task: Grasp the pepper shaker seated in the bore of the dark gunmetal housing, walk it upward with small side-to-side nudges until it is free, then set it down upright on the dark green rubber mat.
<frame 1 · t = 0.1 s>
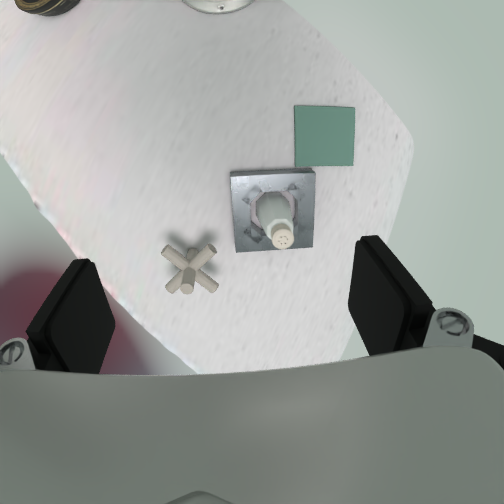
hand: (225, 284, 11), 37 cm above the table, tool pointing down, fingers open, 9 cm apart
pipe connector: (193, 252, 52), on the table
mat: (324, 135, 44), on the table
pepper shaker: (272, 206, 49), resting in housing
housing: (272, 207, 49), on the table
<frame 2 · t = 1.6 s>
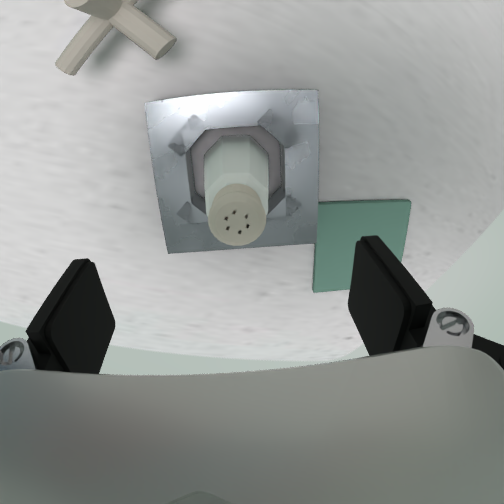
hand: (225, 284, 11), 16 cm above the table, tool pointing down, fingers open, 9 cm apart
pipe connector: (135, 22, 18), on the table
mat: (360, 245, 29), on the table
pepper shaker: (236, 165, 25), resting in housing
housing: (236, 166, 25), on the table
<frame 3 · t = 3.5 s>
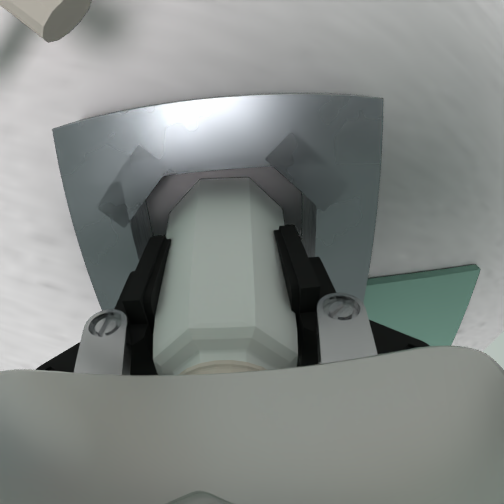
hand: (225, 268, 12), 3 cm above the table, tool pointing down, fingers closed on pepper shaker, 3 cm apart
mat: (406, 328, 19), on the table
pepper shaker: (226, 228, 15), resting in housing, touching gripper
housing: (226, 229, 15), on the table
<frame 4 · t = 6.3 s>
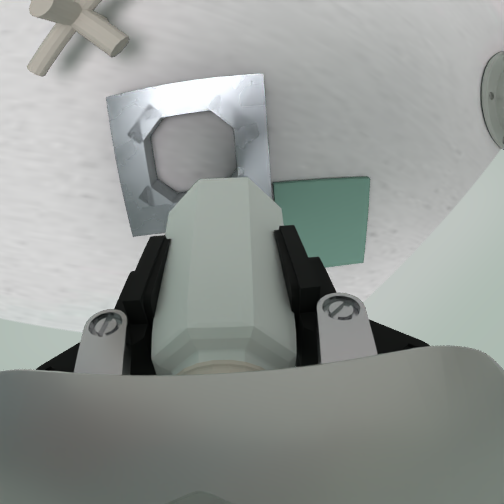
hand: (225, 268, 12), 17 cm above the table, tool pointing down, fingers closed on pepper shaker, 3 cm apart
pipe connector: (99, 26, 19), on the table
mat: (321, 224, 30), on the table
pepper shaker: (225, 227, 15), point 13 cm above the table, touching gripper
housing: (193, 151, 26), on the table
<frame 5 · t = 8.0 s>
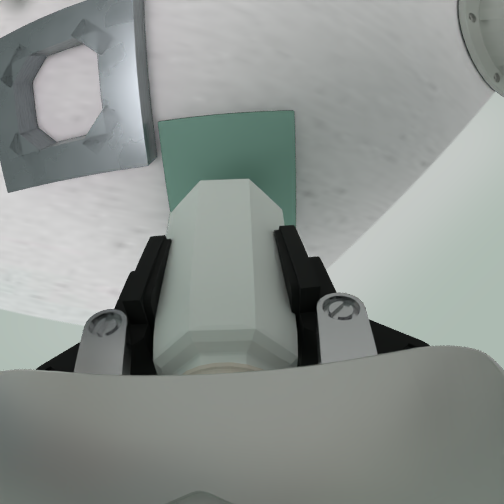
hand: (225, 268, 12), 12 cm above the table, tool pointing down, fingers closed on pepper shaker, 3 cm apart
mat: (230, 176, 22), on the table
pepper shaker: (226, 229, 15), point 8 cm above the table, touching gripper
housing: (71, 92, 18), on the table
when the fingers open (5 cm above the table, at t = 9.5 s): pepper shaker stays where it is, resting on mat.
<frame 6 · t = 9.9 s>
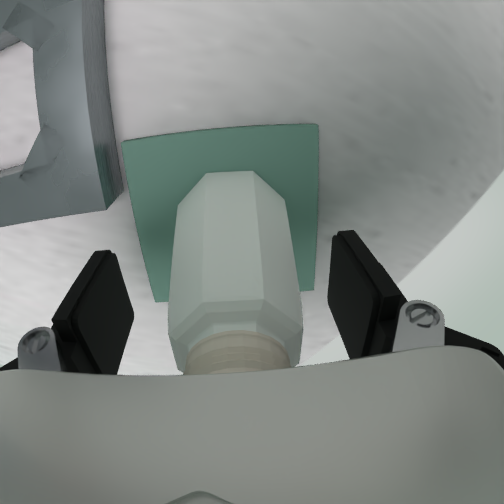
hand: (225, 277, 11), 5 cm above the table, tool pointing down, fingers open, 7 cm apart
mat: (226, 217, 16), on the table
pepper shaker: (232, 219, 16), resting on mat
housing: (12, 104, 12), on the table
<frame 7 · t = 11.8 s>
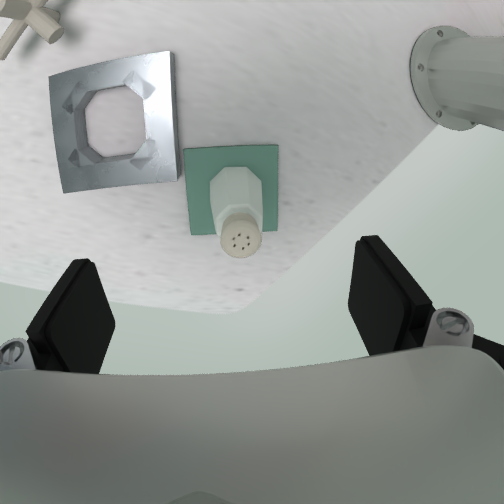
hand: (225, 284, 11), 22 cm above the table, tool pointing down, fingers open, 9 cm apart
pipe connector: (53, 19, 21), on the table
mat: (232, 189, 32), on the table
pepper shaker: (235, 190, 31), resting on mat
housing: (117, 121, 27), on the table
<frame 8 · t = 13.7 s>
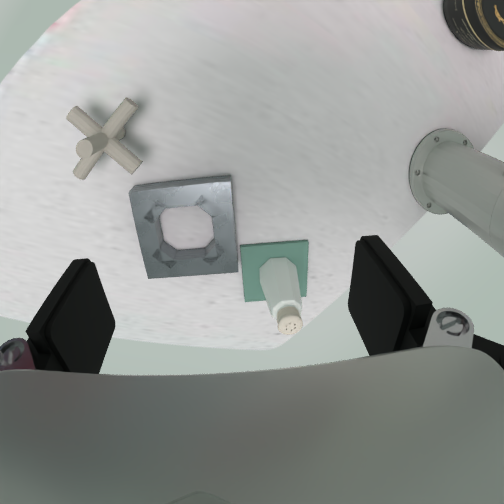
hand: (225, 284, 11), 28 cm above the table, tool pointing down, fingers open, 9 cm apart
pipe connector: (118, 132, 34), on the table
mat: (274, 271, 45), on the table
pepper shaker: (277, 272, 44), resting on mat
jar: (464, 18, 27), on the table
housing: (187, 225, 40), on the table
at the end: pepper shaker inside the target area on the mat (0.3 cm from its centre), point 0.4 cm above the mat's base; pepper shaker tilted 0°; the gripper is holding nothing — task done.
